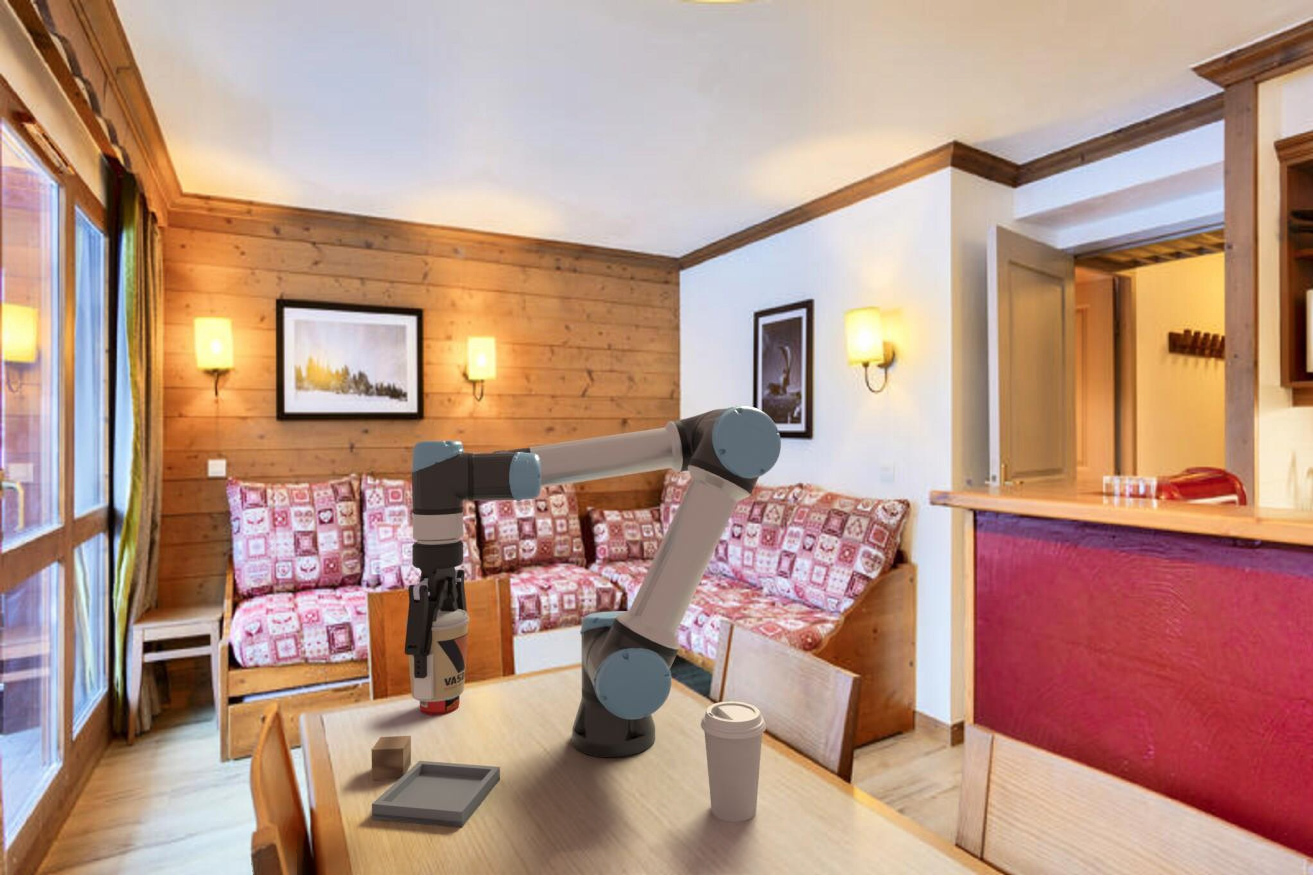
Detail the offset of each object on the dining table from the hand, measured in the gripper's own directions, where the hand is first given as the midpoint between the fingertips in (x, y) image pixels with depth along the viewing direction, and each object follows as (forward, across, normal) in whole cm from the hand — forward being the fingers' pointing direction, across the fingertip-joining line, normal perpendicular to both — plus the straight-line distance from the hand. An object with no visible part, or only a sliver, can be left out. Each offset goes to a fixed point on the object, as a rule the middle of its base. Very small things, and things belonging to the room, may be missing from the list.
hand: (438, 686), depth 109 cm
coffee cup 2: (+17, -3, +45) cm, 48 cm away
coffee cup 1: (+1, 0, 0) cm, 1 cm away
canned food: (+17, -34, -17) cm, 42 cm away
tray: (+17, 0, 0) cm, 17 cm away
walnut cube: (+17, -7, -12) cm, 22 cm away
